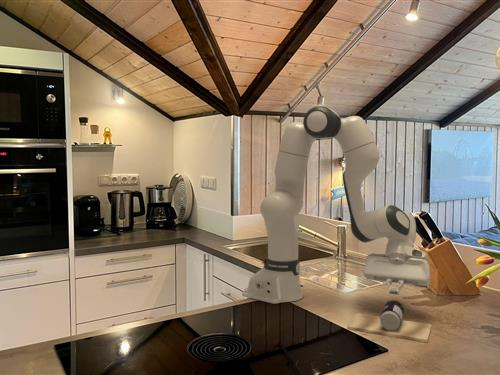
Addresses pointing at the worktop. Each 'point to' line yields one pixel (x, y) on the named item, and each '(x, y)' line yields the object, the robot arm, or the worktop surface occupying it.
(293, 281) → the robot arm
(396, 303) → the beverage can
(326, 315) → the worktop surface
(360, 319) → the folded beige cloth
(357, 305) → the worktop surface
